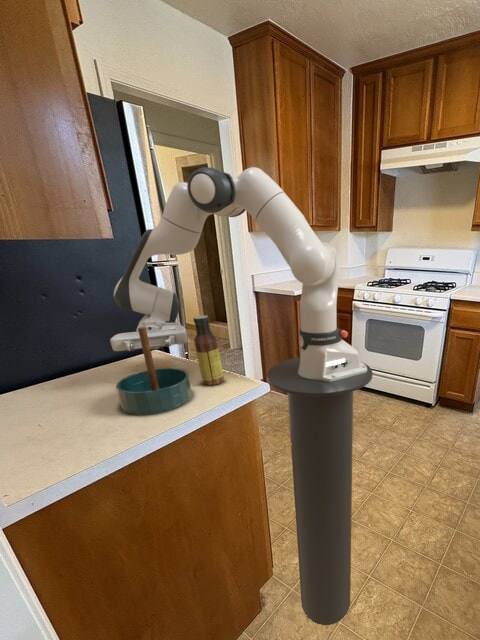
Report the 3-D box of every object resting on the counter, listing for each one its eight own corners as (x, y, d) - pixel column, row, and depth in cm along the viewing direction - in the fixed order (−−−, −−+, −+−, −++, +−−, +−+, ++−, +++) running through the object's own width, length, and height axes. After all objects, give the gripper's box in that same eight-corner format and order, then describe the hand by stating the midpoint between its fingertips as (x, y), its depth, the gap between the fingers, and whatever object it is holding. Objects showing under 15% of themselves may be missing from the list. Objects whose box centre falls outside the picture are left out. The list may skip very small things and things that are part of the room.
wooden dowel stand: (168, 392, 98) (153, 324, 90) (167, 400, 93) (152, 328, 86) (147, 396, 96) (131, 326, 88) (146, 403, 91) (128, 331, 84)
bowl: (190, 383, 105) (186, 364, 103) (193, 407, 90) (189, 385, 88) (125, 393, 99) (120, 373, 97) (118, 420, 84) (111, 397, 82)
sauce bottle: (224, 377, 109) (215, 313, 102) (224, 384, 104) (214, 317, 96) (202, 379, 108) (191, 315, 100) (200, 387, 102) (189, 319, 95)
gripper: (111, 327, 104) (103, 339, 92) (184, 320, 111) (186, 330, 99) (116, 348, 107) (110, 361, 95) (188, 340, 114) (190, 351, 102)
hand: (149, 345), depth 97 cm, fingers open, 8 cm apart
